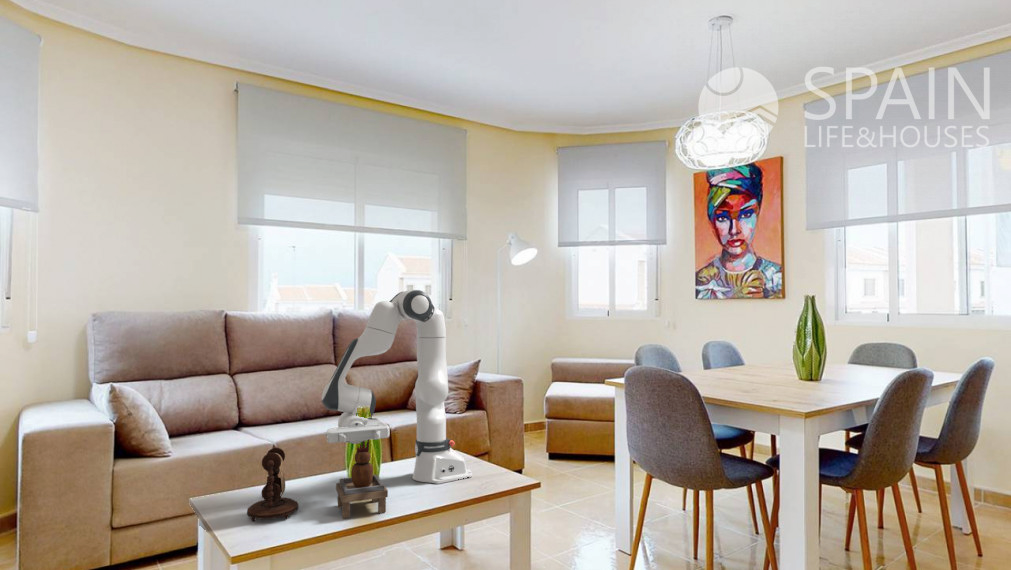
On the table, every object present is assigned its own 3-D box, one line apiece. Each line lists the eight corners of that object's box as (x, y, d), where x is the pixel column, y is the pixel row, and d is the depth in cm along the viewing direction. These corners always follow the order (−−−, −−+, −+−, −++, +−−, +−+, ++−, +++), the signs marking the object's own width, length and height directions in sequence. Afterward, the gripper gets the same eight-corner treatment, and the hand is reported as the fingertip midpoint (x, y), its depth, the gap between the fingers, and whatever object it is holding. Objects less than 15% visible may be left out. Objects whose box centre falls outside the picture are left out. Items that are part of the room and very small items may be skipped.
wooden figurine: (375, 484, 186) (375, 437, 187) (369, 489, 181) (369, 441, 181) (355, 483, 187) (355, 437, 188) (348, 489, 182) (349, 441, 182)
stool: (379, 499, 193) (379, 473, 193) (387, 513, 180) (387, 485, 180) (335, 505, 187) (336, 478, 187) (341, 519, 174) (341, 491, 175)
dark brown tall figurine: (294, 521, 173) (294, 454, 174) (241, 525, 170) (242, 457, 171) (301, 505, 187) (302, 443, 188) (253, 508, 184) (253, 445, 185)
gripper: (323, 423, 193) (328, 431, 180) (384, 418, 201) (393, 425, 188) (323, 442, 192) (328, 451, 180) (384, 436, 200) (393, 445, 188)
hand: (361, 438), depth 184 cm, fingers open, 8 cm apart
